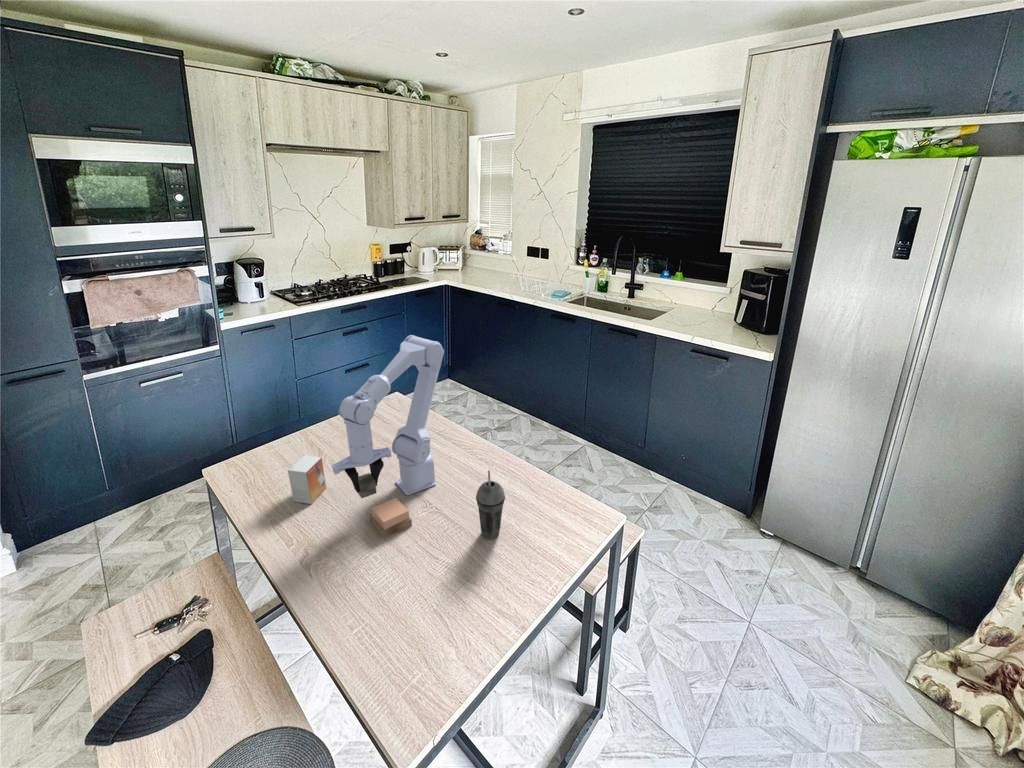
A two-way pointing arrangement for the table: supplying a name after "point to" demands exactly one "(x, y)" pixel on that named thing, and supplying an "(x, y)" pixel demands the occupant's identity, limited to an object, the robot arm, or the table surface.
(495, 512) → the beverage cup
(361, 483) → the charcoal cube
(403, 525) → the walnut slab
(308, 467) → the small box
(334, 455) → the table surface
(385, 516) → the terracotta slab
